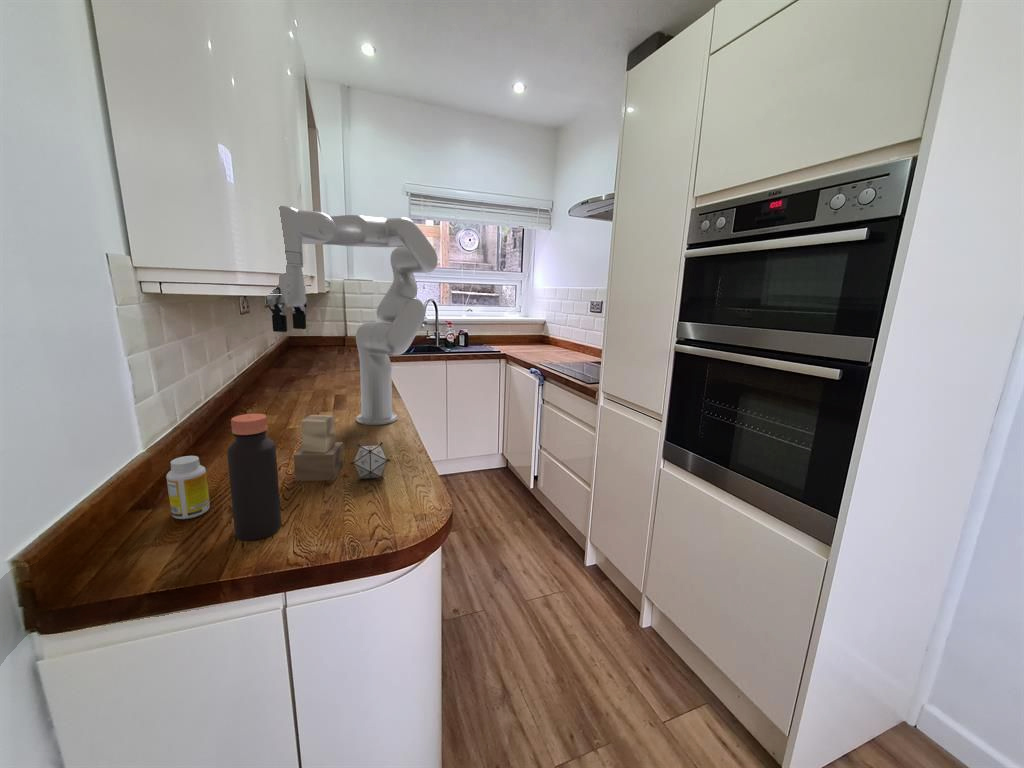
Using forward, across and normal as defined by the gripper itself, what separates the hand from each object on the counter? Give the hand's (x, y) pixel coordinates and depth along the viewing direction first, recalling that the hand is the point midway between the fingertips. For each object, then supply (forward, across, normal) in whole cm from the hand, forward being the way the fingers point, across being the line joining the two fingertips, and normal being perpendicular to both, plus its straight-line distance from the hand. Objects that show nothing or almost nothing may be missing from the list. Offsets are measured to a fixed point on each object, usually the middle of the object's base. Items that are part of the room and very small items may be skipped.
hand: (290, 330), depth 106 cm
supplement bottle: (+31, +37, -1) cm, 48 cm away
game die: (+31, +20, +26) cm, 45 cm away
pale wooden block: (+24, +18, +14) cm, 33 cm away
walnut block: (+31, +18, +14) cm, 38 cm away
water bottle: (+31, +42, +14) cm, 54 cm away
